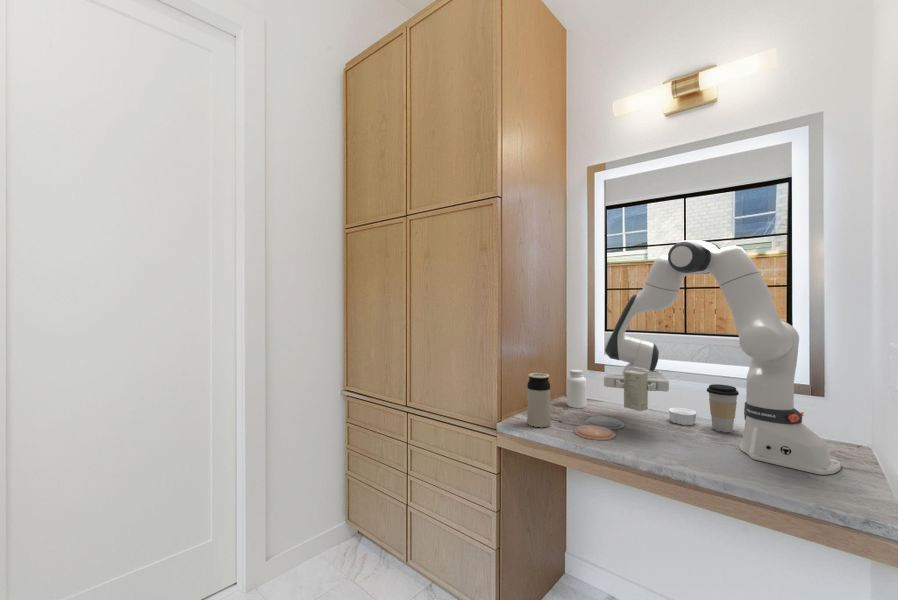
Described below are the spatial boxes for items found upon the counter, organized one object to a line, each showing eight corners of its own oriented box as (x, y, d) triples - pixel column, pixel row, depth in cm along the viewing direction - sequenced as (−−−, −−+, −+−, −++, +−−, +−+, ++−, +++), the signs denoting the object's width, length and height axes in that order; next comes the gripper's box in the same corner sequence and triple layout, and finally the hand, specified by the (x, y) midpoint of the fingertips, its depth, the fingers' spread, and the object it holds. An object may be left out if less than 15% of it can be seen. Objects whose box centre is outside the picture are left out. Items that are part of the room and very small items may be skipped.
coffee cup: (744, 435, 139) (744, 390, 139) (712, 433, 141) (713, 388, 141) (730, 426, 148) (731, 384, 148) (701, 424, 150) (702, 383, 150)
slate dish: (631, 425, 149) (631, 422, 149) (608, 432, 142) (608, 428, 142) (600, 416, 160) (600, 413, 160) (578, 422, 153) (578, 418, 153)
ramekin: (702, 424, 150) (702, 412, 150) (684, 427, 147) (684, 415, 147) (680, 418, 159) (680, 406, 159) (663, 420, 155) (663, 409, 155)
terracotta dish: (623, 435, 138) (623, 432, 138) (598, 443, 131) (598, 439, 131) (591, 425, 149) (591, 421, 149) (566, 431, 142) (566, 428, 142)
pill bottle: (563, 403, 179) (564, 369, 178) (581, 403, 179) (581, 368, 179) (571, 408, 171) (571, 372, 171) (589, 408, 172) (590, 372, 171)
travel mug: (554, 425, 148) (555, 375, 148) (539, 429, 144) (539, 377, 144) (538, 420, 155) (538, 371, 155) (522, 423, 150) (522, 374, 150)
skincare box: (647, 409, 136) (648, 372, 136) (640, 411, 133) (641, 374, 133) (630, 405, 141) (631, 369, 141) (622, 407, 138) (623, 370, 138)
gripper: (604, 368, 153) (601, 375, 140) (666, 372, 145) (670, 379, 132) (604, 385, 153) (601, 393, 140) (666, 390, 145) (670, 399, 132)
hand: (635, 386), depth 136 cm, fingers closed on skincare box, 7 cm apart
